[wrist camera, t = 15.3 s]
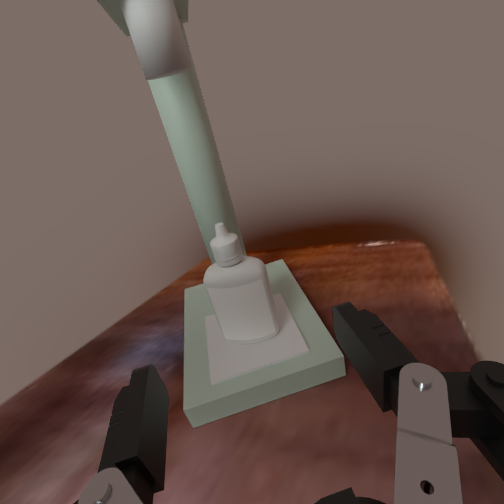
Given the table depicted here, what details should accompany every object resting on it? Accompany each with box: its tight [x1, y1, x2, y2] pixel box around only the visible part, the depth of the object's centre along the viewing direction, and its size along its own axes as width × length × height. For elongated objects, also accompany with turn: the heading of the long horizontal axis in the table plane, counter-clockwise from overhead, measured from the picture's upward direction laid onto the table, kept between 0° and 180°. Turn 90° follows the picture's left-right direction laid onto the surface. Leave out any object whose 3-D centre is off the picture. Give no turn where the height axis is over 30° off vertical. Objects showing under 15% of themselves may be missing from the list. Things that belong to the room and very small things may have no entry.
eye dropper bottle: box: [203, 223, 279, 344], centre depth 26 cm, size 4×6×12 cm
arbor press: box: [97, 0, 346, 428], centre depth 25 cm, size 18×20×35 cm
